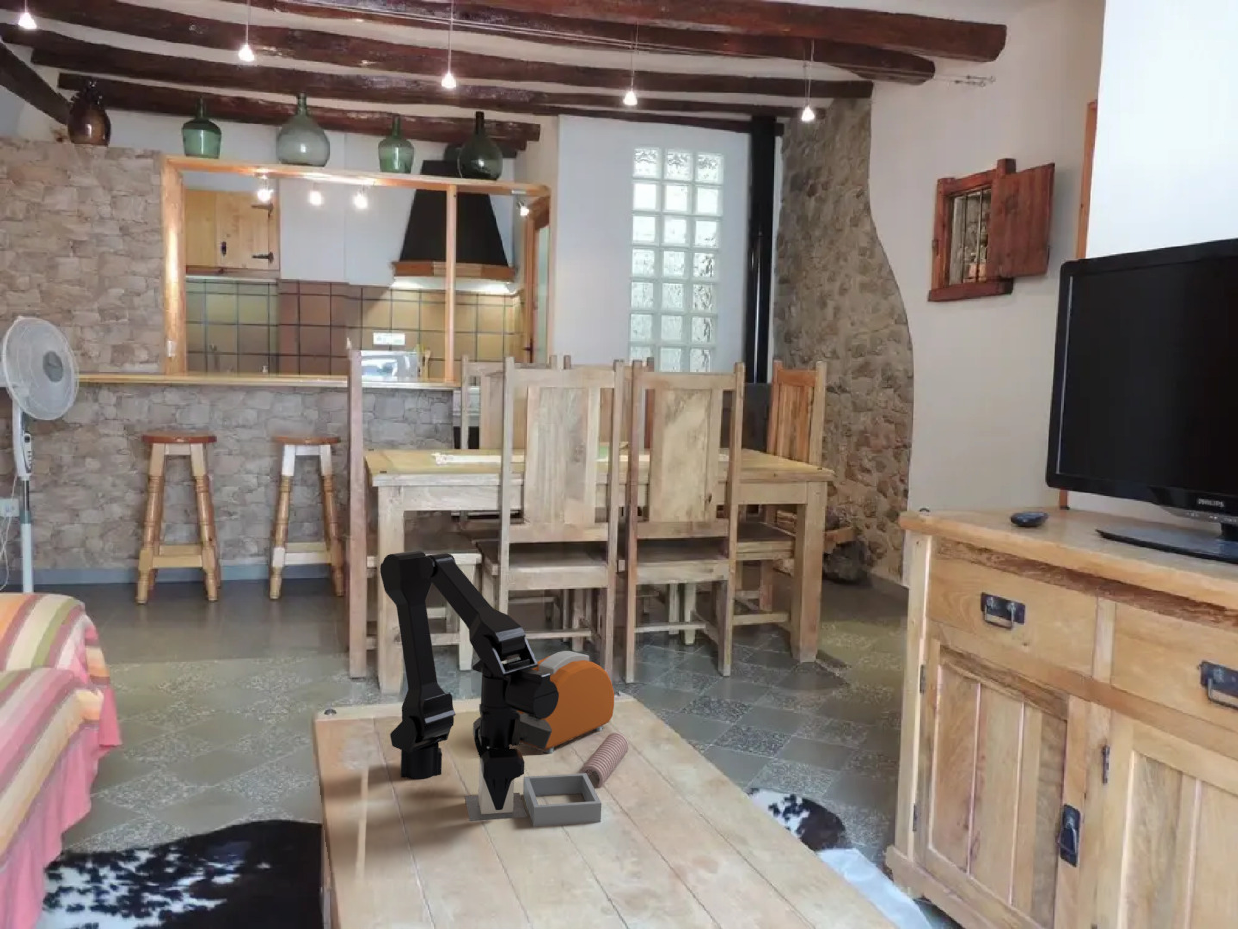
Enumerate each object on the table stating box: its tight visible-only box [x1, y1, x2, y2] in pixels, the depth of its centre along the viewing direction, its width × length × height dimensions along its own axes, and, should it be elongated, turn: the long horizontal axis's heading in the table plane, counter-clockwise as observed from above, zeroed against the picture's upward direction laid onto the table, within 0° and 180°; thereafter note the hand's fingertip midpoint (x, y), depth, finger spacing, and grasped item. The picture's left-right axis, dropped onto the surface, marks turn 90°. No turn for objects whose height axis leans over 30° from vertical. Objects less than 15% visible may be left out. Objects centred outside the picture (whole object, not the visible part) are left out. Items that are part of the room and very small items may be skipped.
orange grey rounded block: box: [518, 650, 615, 754], centre depth 186 cm, size 23×9×17 cm, turn 144°
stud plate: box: [464, 792, 528, 822], centre depth 152 cm, size 9×9×5 cm
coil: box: [578, 732, 629, 789], centre depth 170 cm, size 5×5×18 cm
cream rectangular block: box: [478, 758, 515, 814], centre depth 152 cm, size 5×5×7 cm
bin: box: [522, 773, 602, 827], centre depth 153 cm, size 11×12×4 cm
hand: (495, 797), depth 152 cm, fingers open, 9 cm apart
